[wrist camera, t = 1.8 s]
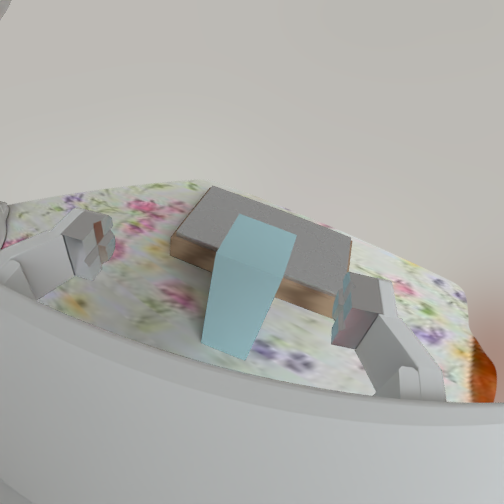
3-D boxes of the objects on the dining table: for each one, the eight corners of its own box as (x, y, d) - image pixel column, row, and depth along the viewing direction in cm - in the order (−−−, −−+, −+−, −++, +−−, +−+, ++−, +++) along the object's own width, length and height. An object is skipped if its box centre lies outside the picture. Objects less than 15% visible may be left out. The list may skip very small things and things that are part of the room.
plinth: (170, 255, 40) (170, 232, 37) (207, 204, 48) (210, 183, 45) (333, 318, 38) (346, 300, 35) (343, 255, 47) (354, 236, 44)
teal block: (200, 342, 32) (216, 252, 23) (218, 307, 36) (239, 213, 26) (245, 360, 32) (282, 278, 22) (258, 323, 36) (297, 235, 26)
